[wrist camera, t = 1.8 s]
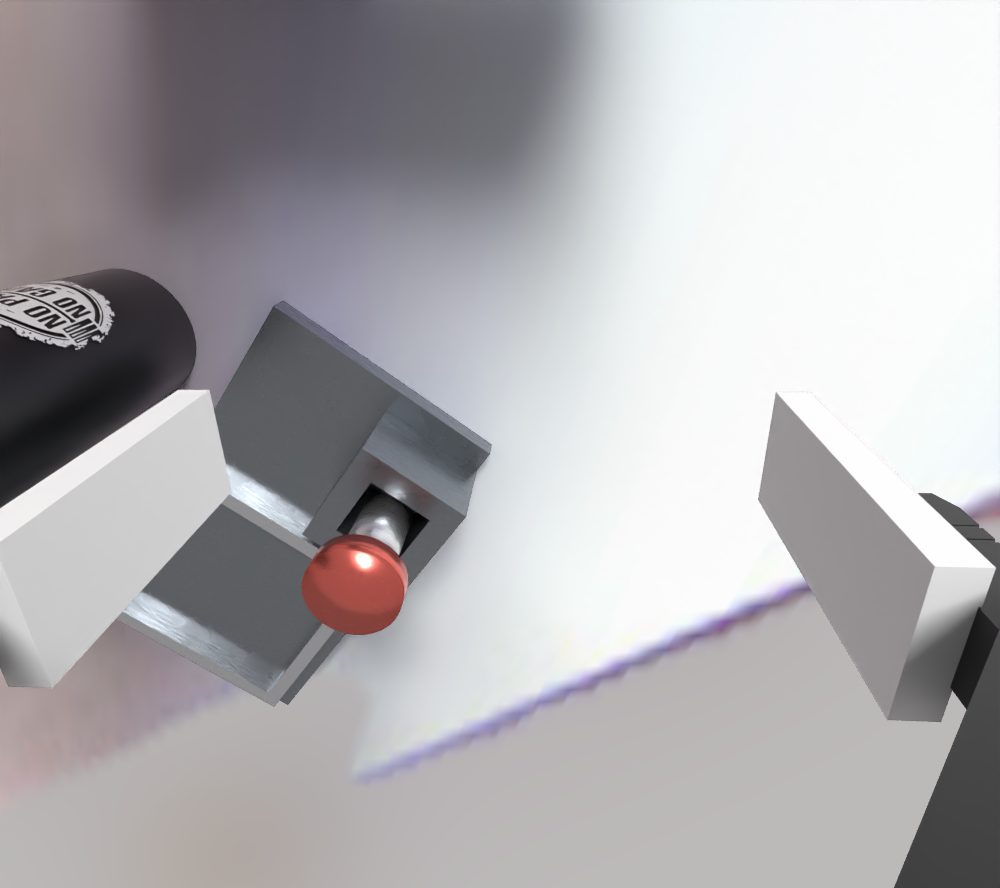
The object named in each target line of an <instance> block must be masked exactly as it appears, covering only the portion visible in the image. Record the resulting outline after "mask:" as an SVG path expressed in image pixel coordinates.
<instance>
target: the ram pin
mask: <svg viewBox="0 0 1000 888" xmlns="http://www.w3.org/2000/svg"><path fill="white" fill-rule="evenodd" d="M412 519H413V510H412V509H411V508H410V507H408V506H407V505H405V504H404V503H402V502H401V501H399V500H397V499H396V498H394V497H393V496H391V495H390V494H388V493H387V492H385V491H379V492H376V493H374V494H372V495H371V496H370V497H369V498H368V499H367V500H366V502H365V504H364V506H363V508H362V510H361V511H360V513H359V515H358V517H357V519H356V521H355V523H354V525H353V527H352V528H351V530H350V532H349V534H347V535H341V536H338V537H335V538H333V539H330V540H329V541H327V542H326V543H324V544H323V545H322V546H321V547H320V548H319V549H318V551H317V552H316V554H315V556H314V557H313V559H312V561H311V562H310V564H309V566H308V568H307V569H306V571H305V573H304V575H303V579H302V586H301V589H302V595H303V599H304V601H305V604H306V606H307V607H308V609H309V610H310V612H311V613H312V614H313V615H314V616H315V617H316V618H317V619H318V620H319V621H320V622H322V623H323V624H325V625H326V626H328V627H330V628H332V629H334V630H336V631H339V632H342V633H346V634H353V635H365V634H371V633H375V632H378V631H380V630H382V629H384V628H386V627H387V626H389V625H390V624H391V623H392V622H393V621H394V620H395V619H396V617H397V616H398V614H399V612H400V609H401V606H402V603H403V600H404V597H405V594H406V591H407V588H408V573H407V570H406V567H405V564H404V562H403V561H402V559H401V558H400V556H399V554H400V552H401V549H402V546H403V544H404V541H405V538H406V536H407V533H408V530H409V528H410V525H411V522H412Z"/></svg>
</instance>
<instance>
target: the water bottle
mask: <svg viewBox="0 0 1000 888" xmlns="http://www.w3.org/2000/svg"><path fill="white" fill-rule="evenodd" d="M195 356H196V342H195V336H194V332H193V328H192V326H191V323H190V321H189V318H188V316H187V315H186V313H185V311H184V309H183V308H182V306H181V305H180V304H179V302H178V301H177V300H176V299H175V298H174V297H173V295H172V294H171V293H170V292H169V291H167V290H166V289H165V288H164V287H163V286H161V285H160V284H159V283H157V282H156V281H154V280H152V279H151V278H149V277H147V276H145V275H142V274H140V273H137V272H134V271H130V270H124V269H107V270H101V271H96V272H92V273H87V274H82V275H77V276H72V277H67V278H62V279H58V280H53V281H48V282H42V283H33V285H29V284H28V285H25V286H19V287H18V288H17V287H14V288H13V289H12V288H10V289H6V290H5V289H4V290H3V291H1V290H0V508H1V507H2V506H4V505H5V504H7V503H8V502H10V501H11V500H13V499H14V498H16V497H17V496H19V495H21V494H23V493H24V492H26V491H27V490H29V489H30V488H32V487H33V486H35V485H36V484H38V483H39V482H41V481H42V480H44V479H45V478H47V477H48V476H50V475H51V474H53V473H54V472H56V471H57V470H59V469H60V468H62V467H63V466H65V465H66V464H68V463H69V462H71V461H72V460H74V459H75V458H77V457H78V456H80V455H81V454H83V453H84V452H86V451H87V450H89V449H90V448H92V447H93V446H95V445H96V444H98V443H99V442H101V441H102V440H104V439H105V438H106V437H108V436H109V435H111V434H112V433H114V432H115V431H117V430H118V429H119V428H121V427H122V426H124V425H125V424H127V423H128V422H129V421H131V420H132V419H134V418H135V417H137V416H138V415H139V414H141V413H142V412H144V411H145V410H147V409H148V408H150V407H151V406H152V405H154V404H155V403H157V402H158V401H160V400H161V399H162V398H164V397H165V396H167V395H168V394H170V393H171V392H172V391H174V390H175V389H177V388H178V387H179V386H181V385H182V384H183V383H184V381H185V380H186V379H187V378H188V376H189V374H190V373H191V370H192V368H193V365H194V361H195Z"/></svg>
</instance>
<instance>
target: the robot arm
mask: <svg viewBox="0 0 1000 888" xmlns="http://www.w3.org/2000/svg"><path fill="white" fill-rule="evenodd" d="M231 492H232V490H231V486H230V481H229V477H228V472H227V468H226V463H225V458H224V454H223V449H222V445H221V440H220V436H219V431H218V427H217V422H216V417H215V413H214V408H213V404H212V399H211V395H210V390H177V391H176V392H174V393H173V394H171V395H170V396H168V397H167V398H165V399H164V400H162V401H161V402H159V403H158V404H156V405H155V406H153V407H152V408H150V409H149V410H147V411H146V412H144V413H143V414H141V415H140V416H138V417H137V418H135V419H134V420H132V421H131V422H129V423H128V424H126V425H125V426H123V427H122V428H120V429H119V430H117V431H116V432H114V433H113V434H111V435H110V436H108V437H107V438H105V439H104V440H102V441H101V442H99V443H98V444H96V445H95V446H93V447H92V448H90V449H89V450H87V451H86V452H84V453H83V454H81V455H80V456H78V457H77V458H75V459H74V460H72V461H71V462H69V463H68V464H66V465H65V466H63V467H62V468H60V469H59V470H57V471H56V472H54V473H53V474H51V475H50V476H48V477H47V478H45V479H44V480H42V481H41V482H39V483H38V484H36V485H35V486H33V487H32V488H30V489H29V490H27V491H26V492H24V493H23V494H21V495H19V496H17V497H16V498H14V499H13V500H11V501H10V502H8V503H7V504H5V505H4V506H2V507H1V508H0V668H1V671H2V673H3V675H4V677H5V680H6V682H7V684H8V686H11V687H37V688H53V687H54V686H55V685H56V684H57V683H58V682H59V681H60V680H61V678H62V677H63V676H64V675H65V674H66V673H67V672H68V671H69V670H70V669H71V667H72V666H73V665H74V664H75V663H76V662H77V661H78V660H79V659H80V658H81V657H82V655H83V654H84V653H85V652H86V651H87V650H88V649H89V648H90V647H91V646H92V644H93V643H94V642H95V641H96V640H97V639H98V638H99V637H100V636H101V635H102V633H103V632H104V631H105V630H106V629H107V628H108V627H109V626H110V625H111V624H112V622H113V621H114V620H115V619H116V618H117V617H118V616H119V615H120V614H121V613H122V612H123V610H124V609H125V608H126V607H127V606H128V605H129V604H130V603H131V602H132V601H133V599H134V598H135V597H136V596H137V595H138V594H139V593H140V592H141V591H142V590H143V588H144V587H145V586H146V585H147V584H148V583H149V582H150V581H151V580H152V579H153V578H154V576H155V575H156V574H157V573H158V572H159V571H160V570H161V569H162V568H163V567H164V565H165V564H166V563H167V562H168V561H169V560H170V559H171V558H172V557H173V556H174V554H175V553H176V552H177V551H178V550H179V549H180V548H181V547H182V546H183V545H184V543H185V542H186V541H187V540H188V539H189V538H190V537H191V536H192V535H193V534H194V533H195V531H196V530H197V529H198V528H199V527H200V526H201V525H202V524H203V523H204V522H205V520H206V519H207V518H208V517H209V516H210V515H211V514H212V513H213V512H214V511H215V509H216V508H217V507H218V506H219V505H220V504H221V503H222V502H223V501H224V500H225V499H226V497H227V496H228V495H229V494H230V493H231ZM758 500H759V502H760V504H761V505H762V507H763V509H764V510H765V512H766V514H767V516H768V517H769V519H770V521H771V522H772V524H773V526H774V527H775V529H776V531H777V533H778V534H779V536H780V538H781V539H782V541H783V543H784V545H785V546H786V548H787V550H788V551H789V553H790V555H791V556H792V558H793V560H794V562H795V563H796V565H797V567H798V568H799V570H800V572H801V574H802V575H803V577H804V579H805V580H806V582H807V584H808V586H809V587H810V589H811V591H812V592H813V594H814V596H815V597H816V599H817V601H818V603H819V604H820V606H821V608H822V609H823V611H824V613H825V615H826V616H827V618H828V620H829V621H830V623H831V625H832V626H833V628H834V630H835V632H836V633H837V635H838V637H839V638H840V640H841V642H842V644H843V645H844V647H845V649H846V650H847V652H848V654H849V655H850V657H851V659H852V661H853V662H854V664H855V666H856V667H857V669H858V671H859V672H860V674H861V676H862V678H863V679H864V681H865V683H866V684H867V686H868V688H869V689H870V691H871V693H872V695H873V696H874V698H875V700H876V702H877V703H878V705H879V706H880V708H881V710H882V712H883V713H884V715H885V717H886V719H887V720H902V721H928V722H941V720H942V718H943V715H944V712H945V709H946V706H947V704H948V701H949V698H950V695H951V692H952V690H953V692H954V693H955V694H956V696H957V697H958V698H959V700H960V701H961V703H962V704H963V705H964V707H965V708H966V709H967V711H966V713H965V715H964V718H963V720H962V723H961V725H960V728H959V730H958V732H957V735H956V737H955V740H954V742H953V745H952V747H951V750H950V752H949V754H948V757H947V759H946V762H945V764H944V767H943V769H942V772H941V774H940V776H939V779H938V781H937V784H936V786H935V789H934V791H933V794H932V796H931V799H930V801H929V804H928V806H927V808H926V811H925V813H924V816H923V818H922V821H921V823H920V825H919V828H918V830H917V833H916V835H915V838H914V840H913V843H912V845H911V848H910V850H909V853H908V855H907V857H906V860H905V862H904V865H903V867H902V870H901V872H900V874H899V877H898V879H897V882H896V884H895V887H894V888H1000V543H995V539H994V538H993V537H992V536H991V535H990V534H989V533H988V532H986V531H985V530H984V529H983V528H979V524H977V523H976V522H975V521H974V520H973V519H972V518H971V517H970V516H968V515H967V514H966V513H965V512H964V511H963V510H962V509H961V508H959V507H957V506H955V505H953V504H951V503H949V502H947V501H945V500H944V499H942V498H940V497H938V496H936V495H934V494H932V493H917V492H916V491H915V490H914V489H913V488H911V487H910V486H909V485H908V484H907V483H906V482H905V481H904V480H903V479H902V478H901V477H900V476H899V475H898V474H897V473H896V472H895V471H894V470H893V469H891V468H890V467H889V466H888V465H887V464H886V463H885V462H884V461H883V460H882V459H881V458H880V457H879V456H878V455H877V454H876V453H875V452H874V451H873V450H871V449H870V448H869V447H868V446H867V445H866V444H865V443H864V442H863V441H862V440H861V439H860V438H859V437H858V436H857V435H856V434H855V433H854V432H853V431H852V430H850V429H849V428H848V427H847V426H846V425H845V424H844V423H843V422H842V421H841V420H840V419H839V418H838V417H837V416H836V415H835V414H834V413H833V412H832V411H830V410H829V409H828V408H827V407H826V406H825V405H824V404H823V403H822V402H821V401H820V400H819V399H818V398H817V397H816V396H815V395H814V394H813V393H812V392H776V395H775V401H774V407H773V413H772V419H771V425H770V431H769V437H768V443H767V450H766V456H765V462H764V468H763V474H762V480H761V486H760V492H759V498H758Z"/></svg>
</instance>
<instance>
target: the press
mask: <svg viewBox="0 0 1000 888" xmlns="http://www.w3.org/2000/svg"><path fill="white" fill-rule="evenodd" d="M214 413H215V417H216V422H217V427H218V431H219V436H220V440H221V445H222V449H223V454H224V458H225V463H226V468H227V472H228V477H229V481H230V486H231V490H232V492H231V493H230V494H229V495H228V496H227V497H226V499H225V500H224V501H223V502H222V503H221V504H220V505H219V506H218V507H217V508H216V509H215V511H214V512H213V513H212V514H211V515H210V516H209V517H208V518H207V519H206V520H205V522H204V523H203V524H202V525H201V526H200V527H199V528H198V529H197V530H196V531H195V533H194V534H193V535H192V536H191V537H190V538H189V539H188V540H187V541H186V542H185V543H184V545H183V546H182V547H181V548H180V549H179V550H178V551H177V552H176V553H175V554H174V556H173V557H172V558H171V559H170V560H169V561H168V562H167V563H166V564H165V565H164V567H163V568H162V569H161V570H160V571H159V572H158V573H157V574H156V575H155V576H154V578H153V579H152V580H151V581H150V582H149V583H148V584H147V585H146V586H145V587H144V588H143V590H142V591H141V592H140V593H139V594H138V595H137V596H136V597H135V598H134V599H133V601H132V602H131V603H130V604H129V605H128V606H127V607H126V608H125V609H124V610H123V612H122V613H121V614H120V615H119V616H118V617H117V618H116V619H117V620H118V621H120V622H122V623H124V624H126V625H127V626H129V627H131V628H133V629H135V630H136V631H138V632H140V633H142V634H144V635H145V636H147V637H149V638H151V639H153V640H155V641H156V642H158V643H160V644H162V645H164V646H165V647H167V648H169V649H171V650H173V651H174V652H176V653H178V654H180V655H182V656H183V657H185V658H187V659H189V660H191V661H192V662H194V663H196V664H198V665H200V666H201V667H203V668H205V669H207V670H209V671H210V672H212V673H214V674H216V675H218V676H220V677H221V678H223V679H225V680H227V681H229V682H230V683H232V684H234V685H236V686H238V687H239V688H241V689H243V690H245V691H247V692H248V693H250V694H252V695H254V696H256V697H257V698H259V699H261V700H263V701H265V702H267V703H268V704H270V705H272V706H275V705H276V704H277V703H278V701H279V700H280V701H282V702H284V703H285V704H287V705H288V704H289V703H290V702H291V700H292V699H293V698H294V697H295V695H296V694H297V693H298V692H299V690H300V689H301V688H302V687H303V685H304V684H305V683H306V682H307V681H308V679H309V678H310V677H311V676H312V674H313V673H314V672H315V671H316V669H317V668H318V667H319V666H320V664H321V663H322V662H323V661H324V659H325V658H326V657H327V656H328V654H329V653H330V652H331V651H332V649H333V648H334V647H335V646H336V644H337V643H338V642H339V641H340V640H341V638H342V637H343V636H344V635H345V633H342V632H339V631H336V630H334V629H332V628H330V627H328V626H326V625H325V624H323V623H322V622H320V621H319V620H318V619H317V618H316V617H315V616H314V615H313V614H312V613H311V612H310V610H309V609H308V607H307V606H306V604H305V601H304V599H303V595H302V589H301V586H302V579H303V575H304V573H305V571H306V569H307V568H308V566H309V564H310V562H311V561H312V559H313V557H314V556H315V554H316V552H317V551H318V549H319V548H320V547H321V546H322V545H323V544H324V543H326V542H327V541H329V540H330V539H333V538H335V537H338V536H341V535H347V534H349V532H350V530H351V528H352V527H353V525H354V523H355V521H356V519H357V517H358V515H359V513H360V511H361V510H362V508H363V506H364V504H365V502H366V500H367V499H368V498H369V497H370V496H371V495H372V494H374V493H376V492H379V491H385V492H387V493H388V494H390V495H391V496H393V497H394V498H396V499H397V500H399V501H401V502H402V503H404V504H405V505H407V506H408V507H410V508H411V509H412V510H413V519H412V522H411V525H410V528H409V530H408V533H407V536H406V538H405V541H404V544H403V546H402V549H401V552H400V554H399V556H400V558H401V559H402V561H403V562H404V564H405V567H406V570H407V573H408V586H409V585H410V584H411V583H412V581H413V580H414V579H415V578H416V577H417V575H418V574H419V573H420V572H421V570H422V569H423V568H424V567H425V566H426V564H427V563H428V562H429V561H430V560H431V558H432V557H433V556H434V555H435V554H436V552H437V551H438V550H439V549H440V547H441V546H442V545H443V544H444V543H445V541H446V540H447V539H448V538H449V537H450V535H451V534H452V533H453V532H454V531H455V529H456V528H457V527H458V526H459V525H460V523H461V522H462V521H463V520H464V518H465V517H466V514H467V510H468V506H469V501H470V497H471V493H472V488H473V484H474V479H475V475H476V471H477V469H478V468H479V467H480V466H481V464H482V463H483V462H484V461H485V459H486V458H487V457H488V456H489V454H490V451H491V446H492V444H490V443H489V442H487V441H486V440H484V439H483V438H481V437H480V436H478V435H477V434H476V433H474V432H473V431H471V430H470V429H468V428H467V427H465V426H464V425H462V424H461V423H460V422H458V421H457V420H455V419H454V418H452V417H451V416H449V415H448V414H447V413H445V412H444V411H442V410H441V409H439V408H438V407H436V406H435V405H433V404H432V403H431V402H429V401H428V400H426V399H425V398H423V397H422V396H420V395H419V394H417V393H416V392H415V391H413V390H412V389H410V388H409V387H407V386H406V385H404V384H403V383H401V382H400V381H399V380H397V379H396V378H394V377H393V376H391V375H390V374H388V373H387V372H386V371H384V370H383V369H381V368H380V367H378V366H377V365H375V364H374V363H372V362H371V361H370V360H368V359H367V358H365V357H364V356H362V355H361V354H359V353H358V352H356V351H355V350H354V349H352V348H351V347H349V346H348V345H346V344H345V343H343V342H342V341H340V340H339V339H338V338H336V337H335V336H333V335H332V334H330V333H329V332H327V331H326V330H325V329H323V328H322V327H320V326H319V325H317V324H316V323H314V322H313V321H311V320H310V319H309V318H307V317H306V316H304V315H303V314H301V313H300V312H298V311H297V310H295V309H294V308H293V307H291V306H290V305H288V304H287V303H285V302H284V301H282V302H280V303H279V304H277V305H275V306H274V307H273V308H272V310H271V312H270V314H269V315H268V317H267V319H266V321H265V322H264V324H263V326H262V328H261V329H260V331H259V333H258V335H257V336H256V338H255V340H254V342H253V343H252V345H251V347H250V349H249V350H248V352H247V354H246V356H245V357H244V359H243V361H242V363H241V364H240V366H239V368H238V370H237V371H236V373H235V375H234V377H233V378H232V380H231V382H230V384H229V385H228V387H227V389H226V391H225V392H224V394H223V396H222V398H221V399H220V401H219V403H218V405H217V406H216V408H215V410H214Z"/></svg>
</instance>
